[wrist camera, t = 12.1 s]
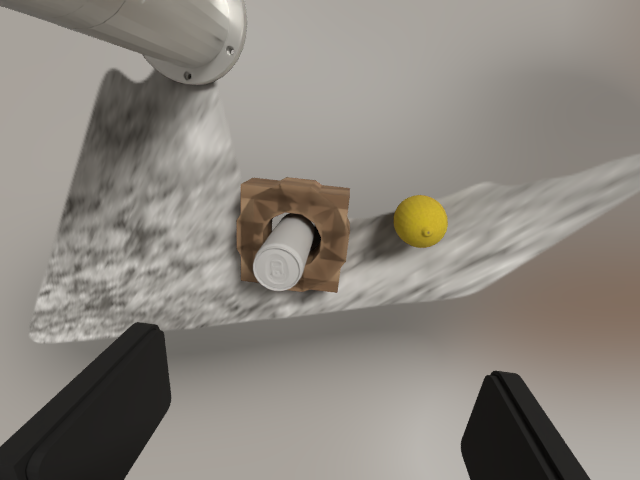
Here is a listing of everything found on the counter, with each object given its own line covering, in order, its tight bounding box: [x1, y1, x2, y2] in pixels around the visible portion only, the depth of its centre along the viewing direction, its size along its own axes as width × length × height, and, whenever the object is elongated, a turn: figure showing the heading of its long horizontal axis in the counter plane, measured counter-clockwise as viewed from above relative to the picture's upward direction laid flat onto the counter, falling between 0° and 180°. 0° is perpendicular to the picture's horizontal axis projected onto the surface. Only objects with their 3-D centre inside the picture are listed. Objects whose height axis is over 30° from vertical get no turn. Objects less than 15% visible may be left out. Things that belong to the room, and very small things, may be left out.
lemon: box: [394, 195, 448, 248], centre depth 34 cm, size 6×6×8 cm
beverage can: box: [253, 213, 315, 291], centre depth 34 cm, size 5×5×12 cm
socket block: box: [237, 177, 350, 293], centre depth 37 cm, size 13×13×4 cm
